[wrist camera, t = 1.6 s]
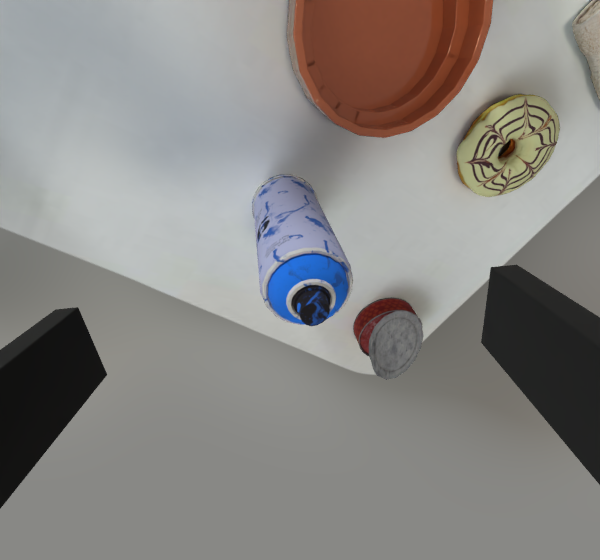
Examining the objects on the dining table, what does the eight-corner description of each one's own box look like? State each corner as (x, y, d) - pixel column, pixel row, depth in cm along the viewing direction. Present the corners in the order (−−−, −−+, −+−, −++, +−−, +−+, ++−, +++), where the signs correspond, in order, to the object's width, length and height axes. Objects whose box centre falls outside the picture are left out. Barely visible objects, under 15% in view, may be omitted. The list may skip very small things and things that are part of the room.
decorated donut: (432, 156, 39) (448, 164, 36) (509, 70, 35) (535, 71, 32) (482, 204, 44) (500, 216, 41) (555, 133, 40) (581, 140, 37)
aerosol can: (257, 168, 37) (269, 260, 21) (324, 180, 39) (384, 273, 23) (248, 232, 41) (252, 351, 25) (309, 240, 43) (351, 356, 27)
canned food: (347, 297, 55) (355, 311, 45) (410, 289, 55) (431, 301, 45) (356, 363, 57) (365, 390, 47) (417, 355, 56) (439, 381, 46)
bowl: (260, 83, 33) (263, 88, 28) (337, -148, 25) (358, -192, 21) (396, 150, 38) (416, 163, 34) (493, -23, 31) (536, -36, 26)
